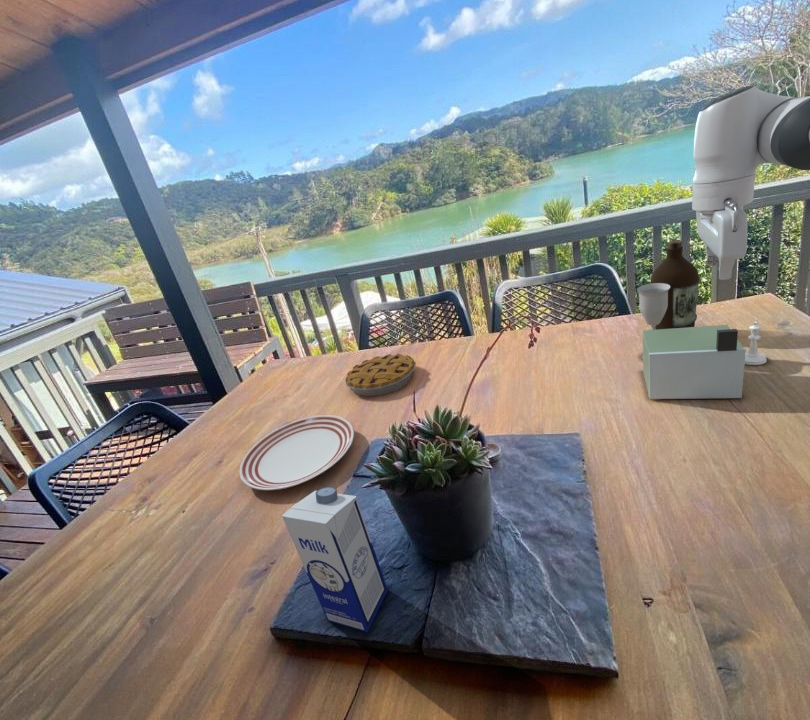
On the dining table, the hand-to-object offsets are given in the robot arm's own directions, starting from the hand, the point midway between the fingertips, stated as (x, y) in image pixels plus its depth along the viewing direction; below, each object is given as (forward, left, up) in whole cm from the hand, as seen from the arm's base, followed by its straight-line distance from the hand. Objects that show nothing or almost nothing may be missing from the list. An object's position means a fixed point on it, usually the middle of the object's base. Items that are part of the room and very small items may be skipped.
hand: (718, 271), depth 82 cm
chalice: (+9, -16, -26) cm, 32 cm away
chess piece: (-10, -12, -26) cm, 30 cm away
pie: (+82, -8, -26) cm, 86 cm away
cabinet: (+4, -2, -25) cm, 26 cm away
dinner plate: (+87, +30, -26) cm, 95 cm away
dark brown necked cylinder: (+3, -29, -26) cm, 39 cm away
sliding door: (+4, +5, -25) cm, 26 cm away
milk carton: (+55, +62, -26) cm, 87 cm away
